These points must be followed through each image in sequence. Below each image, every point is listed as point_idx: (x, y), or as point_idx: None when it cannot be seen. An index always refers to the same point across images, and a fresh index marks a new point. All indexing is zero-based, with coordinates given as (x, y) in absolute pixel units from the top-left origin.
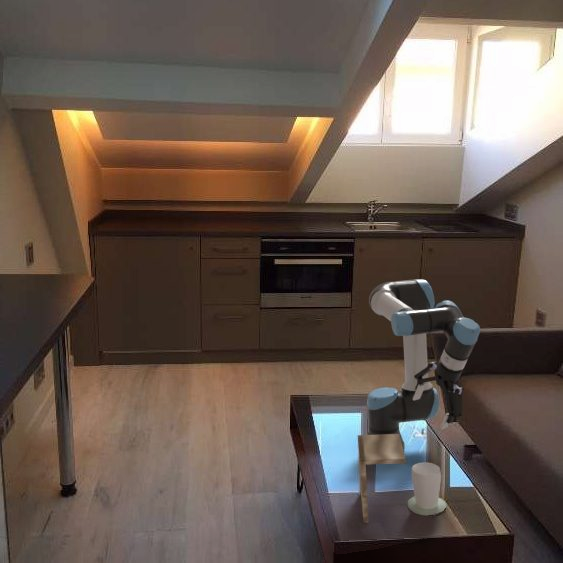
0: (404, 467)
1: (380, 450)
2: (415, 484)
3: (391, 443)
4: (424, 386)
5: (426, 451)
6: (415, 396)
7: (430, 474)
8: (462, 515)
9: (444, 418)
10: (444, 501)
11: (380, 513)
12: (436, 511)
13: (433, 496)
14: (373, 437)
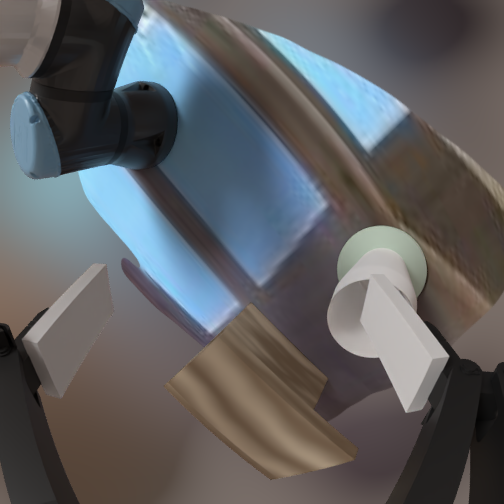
0: (223, 152)
1: (268, 443)
2: (364, 334)
3: (257, 405)
4: (50, 336)
5: (201, 54)
6: (100, 330)
7: (364, 264)
8: (466, 256)
9: (391, 376)
10: (407, 234)
11: (324, 346)
12: (416, 286)
13: (408, 301)
14: (194, 386)
